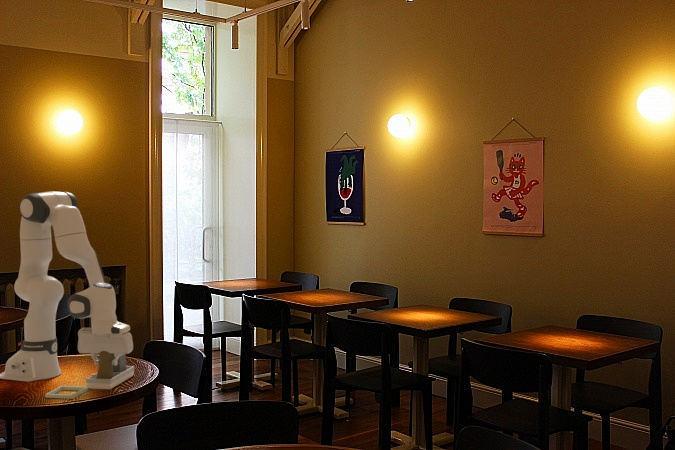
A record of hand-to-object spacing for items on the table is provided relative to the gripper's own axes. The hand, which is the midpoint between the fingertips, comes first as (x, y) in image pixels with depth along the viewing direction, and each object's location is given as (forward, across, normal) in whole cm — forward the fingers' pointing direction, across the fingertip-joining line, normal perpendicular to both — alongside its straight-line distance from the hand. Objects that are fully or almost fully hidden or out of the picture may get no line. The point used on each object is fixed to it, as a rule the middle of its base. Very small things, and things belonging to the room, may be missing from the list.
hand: (106, 365), depth 263 cm
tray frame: (+7, -9, -12) cm, 17 cm away
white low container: (+7, -1, +5) cm, 9 cm away
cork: (+5, -1, 0) cm, 5 cm away
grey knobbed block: (+5, -1, +10) cm, 11 cm away
